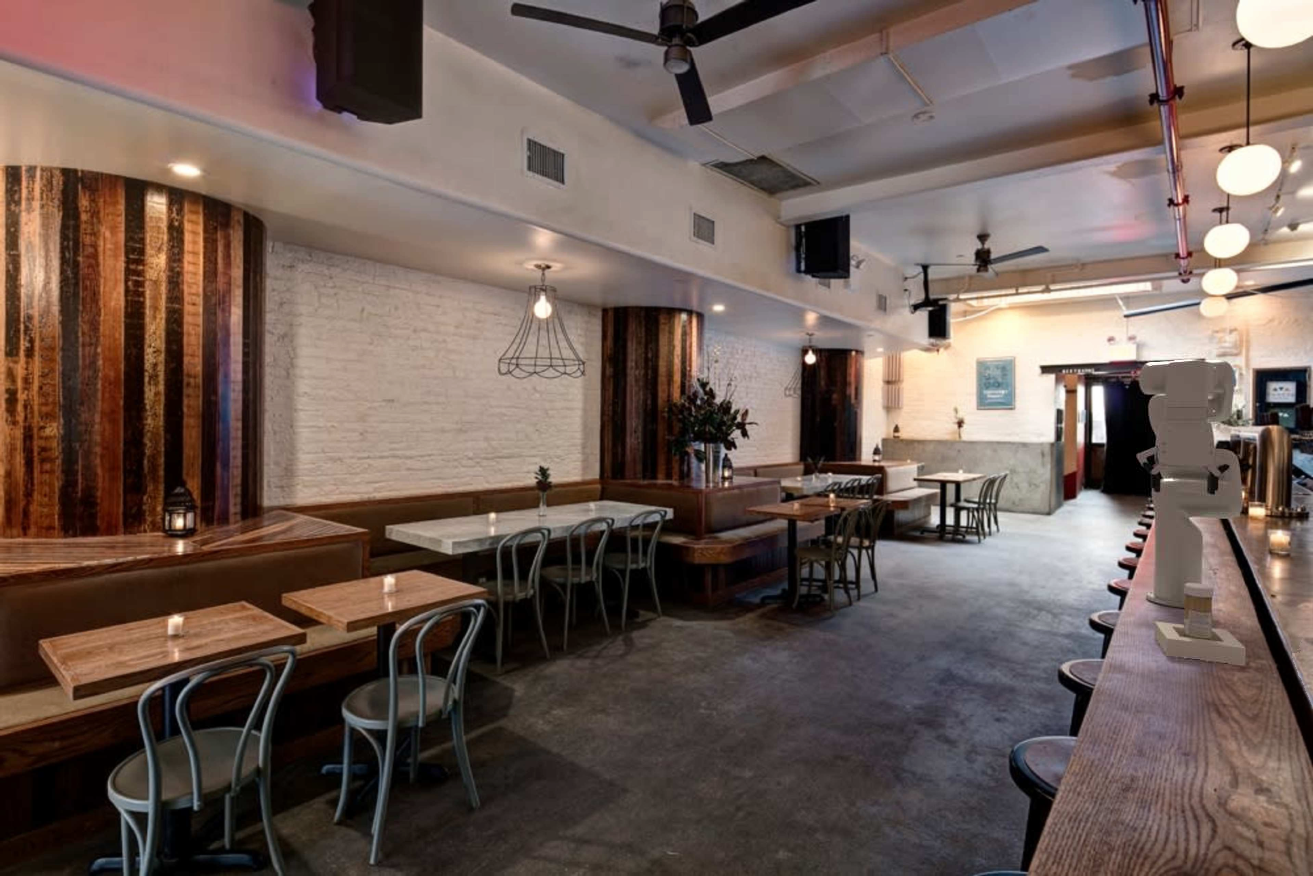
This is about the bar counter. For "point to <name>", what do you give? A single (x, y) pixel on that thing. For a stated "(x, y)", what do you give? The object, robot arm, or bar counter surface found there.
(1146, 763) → the bar counter surface
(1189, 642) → the collar
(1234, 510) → the robot arm
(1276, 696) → the bar counter surface
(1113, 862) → the bar counter surface
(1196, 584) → the sprinkles bottle
